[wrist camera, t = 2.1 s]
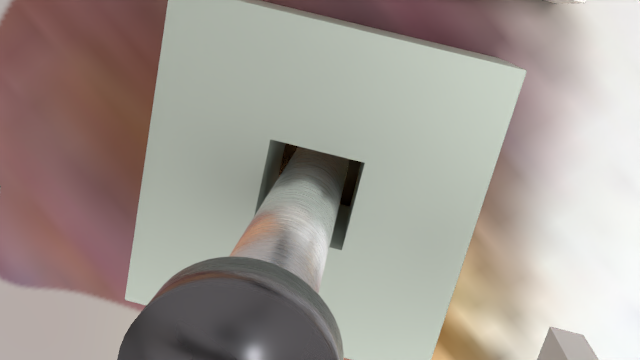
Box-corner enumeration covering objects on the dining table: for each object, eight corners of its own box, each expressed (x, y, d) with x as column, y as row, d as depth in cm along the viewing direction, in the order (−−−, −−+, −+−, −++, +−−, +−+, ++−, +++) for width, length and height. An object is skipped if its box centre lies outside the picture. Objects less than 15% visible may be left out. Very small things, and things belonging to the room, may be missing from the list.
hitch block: (212, -12, 24) (170, -16, 20) (498, 57, 24) (526, 70, 19) (169, 249, 28) (124, 299, 23) (417, 314, 27) (424, 378, 23)
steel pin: (286, 106, 25) (132, 259, 10) (377, 128, 25) (364, 319, 10) (268, 192, 27) (104, 449, 11) (354, 214, 26) (310, 505, 11)
